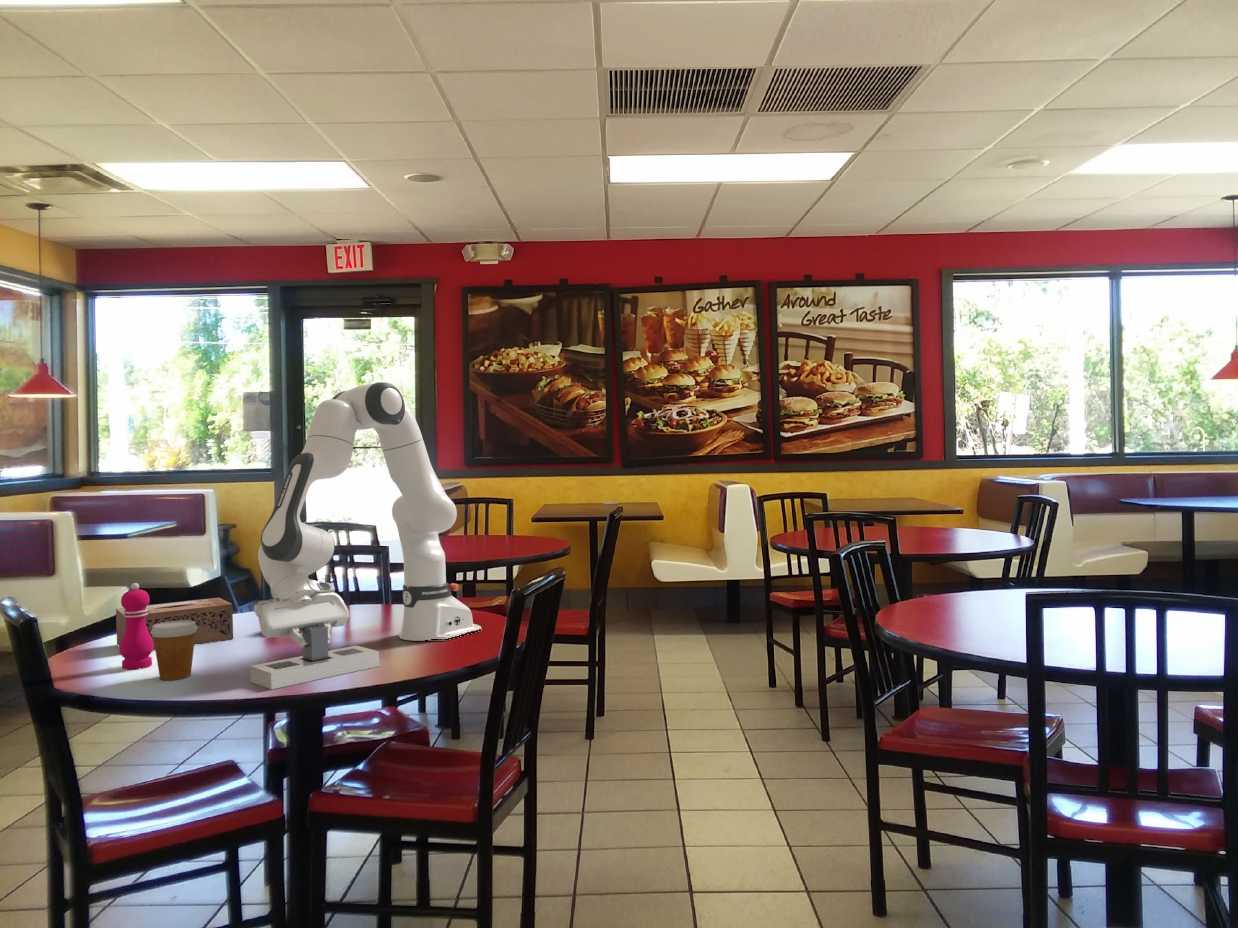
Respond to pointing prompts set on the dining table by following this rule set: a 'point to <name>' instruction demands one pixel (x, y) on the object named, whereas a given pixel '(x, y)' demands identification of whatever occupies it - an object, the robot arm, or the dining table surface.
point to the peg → (316, 643)
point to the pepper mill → (136, 630)
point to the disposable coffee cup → (174, 648)
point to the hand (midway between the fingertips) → (316, 644)
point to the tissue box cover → (188, 618)
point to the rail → (313, 667)
